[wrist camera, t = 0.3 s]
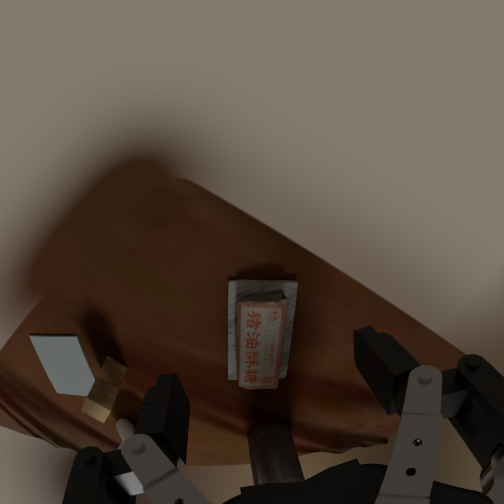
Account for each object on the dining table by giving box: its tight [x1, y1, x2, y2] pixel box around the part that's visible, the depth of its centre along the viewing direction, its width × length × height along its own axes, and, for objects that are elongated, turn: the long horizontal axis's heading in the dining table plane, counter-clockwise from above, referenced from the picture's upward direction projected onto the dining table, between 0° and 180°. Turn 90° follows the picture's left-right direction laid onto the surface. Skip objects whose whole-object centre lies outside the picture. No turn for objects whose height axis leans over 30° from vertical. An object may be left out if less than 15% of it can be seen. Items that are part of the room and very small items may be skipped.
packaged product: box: [228, 279, 298, 390], centre depth 41 cm, size 18×5×10 cm
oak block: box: [81, 356, 128, 423], centre depth 37 cm, size 4×4×11 cm
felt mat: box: [30, 335, 96, 396], centre depth 42 cm, size 14×12×1 cm
